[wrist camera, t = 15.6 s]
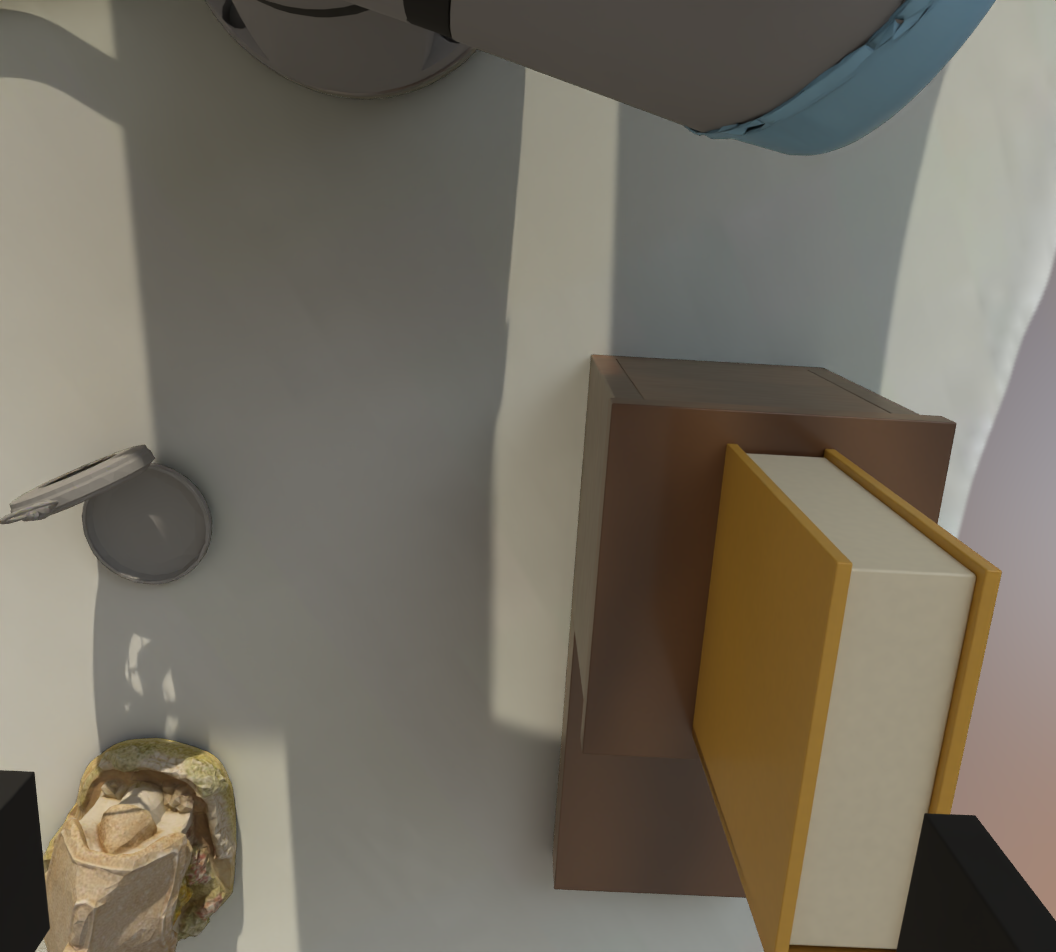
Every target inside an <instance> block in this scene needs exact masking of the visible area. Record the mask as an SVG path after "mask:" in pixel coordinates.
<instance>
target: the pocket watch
mask: <svg viewBox="0 0 1056 952" xmlns="http://www.w3.org/2000/svg"><path fill="white" fill-rule="evenodd" d="M154 459H155V457H154V455H153V454H152V452H151V450H149V449H148V448H147V447H146V445H140V446H135V447H131V448H128V449H125V450H122V451H119V452H116V453H114V454H111V455H109V456H106V457H104V458H101V459H99V460H96V461H94V462H91V463H89V464H86V465H84V466H81V467H79V468H77V469H75V470H72V471H70V472H68V473H66V474H64V475H61V476H59V477H57V478H55V479H52V480H50V481H48V482H46V483H44V484H42V485H40V486H38V487H36V488H34V489H32V490H30V491H28V492H26V493H24V494H23V495H21V496H20V497H18V498H17V499H15V500H14V501H13V502H11V503H10V507H11V514H9V515H6V516H4V517H3V518H1V519H0V524H9V523H13V522H16V521H20V520H23V521H35V520H42V519H45V518H47V517H48V516H50V515H52V514H55V513H58V512H60V511H63V510H65V509H68V508H70V507H73V506H75V505H77V504H80V503H82V502H84V501H85V502H84V505H83V512H82V522H83V530H84V534H85V537H86V539H87V542H88V544H89V546H90V548H91V549H92V551H93V553H94V554H95V556H96V557H97V558H98V559H99V560H100V562H101V563H102V564H104V565H105V566H106V567H107V568H108V569H110V570H111V571H112V572H114V573H116V574H117V575H119V576H121V577H123V578H126V579H128V580H131V581H134V582H138V583H146V584H162V583H167V582H170V581H174V580H177V579H179V578H180V577H182V576H184V575H186V574H188V573H189V572H190V571H192V570H193V569H194V568H195V567H196V566H197V564H198V563H199V562H200V561H201V559H202V558H203V556H204V555H205V554H206V552H207V549H208V547H209V544H210V540H211V534H212V520H211V516H210V511H209V508H208V506H207V504H206V501H205V499H204V497H203V496H202V494H201V493H200V492H199V490H198V489H197V487H196V486H195V485H194V484H193V483H192V482H191V481H190V480H189V479H188V478H186V477H185V476H183V475H181V474H180V473H178V472H177V471H175V470H174V469H171V468H168V467H166V466H163V465H160V464H155V463H151V462H152V461H153V460H154ZM13 517H14V518H13Z"/></svg>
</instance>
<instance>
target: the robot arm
mask: <svg viewBox="0 0 1056 952" xmlns="http://www.w3.org/2000/svg"><path fill="white" fill-rule="evenodd" d="M995 1H996V0H205V2H206V3H207V5H208V6H209V8H210V9H211V11H212V12H213V14H214V15H215V17H216V18H217V19H218V21H219V22H220V23H221V24H222V26H223V27H224V28H225V29H226V30H227V32H228V33H229V34H230V35H231V36H232V37H233V38H234V39H235V40H236V41H237V42H238V43H239V44H240V45H241V46H242V47H243V48H244V49H245V50H247V51H248V52H249V53H250V54H251V55H252V56H254V57H255V58H256V59H258V60H259V61H260V62H262V63H263V64H265V65H266V66H268V67H269V68H271V69H272V70H274V71H275V72H277V73H279V74H281V75H282V76H284V77H286V78H288V79H289V80H291V81H293V82H295V83H297V84H300V85H302V86H304V87H306V88H309V89H312V90H315V91H318V92H321V93H324V94H328V95H333V96H337V97H344V98H352V99H377V98H387V97H392V96H397V95H402V94H405V93H409V92H412V91H415V90H418V89H420V88H423V87H425V86H427V85H429V84H432V83H434V82H435V81H437V80H439V79H441V78H442V77H444V76H446V75H447V74H449V73H450V72H452V71H453V70H454V69H456V68H457V67H459V66H460V65H461V64H462V63H463V62H464V61H466V60H467V59H468V58H469V57H470V56H471V55H472V54H473V53H474V52H475V51H476V50H477V49H478V50H481V51H484V52H487V53H489V54H492V55H495V56H497V57H500V58H503V59H505V60H508V61H511V62H514V63H516V64H519V65H522V66H524V67H527V68H530V69H533V70H535V71H538V72H541V73H543V74H546V75H549V76H551V77H554V78H557V79H560V80H562V81H565V82H568V83H570V84H573V85H576V86H578V87H581V88H584V89H587V90H589V91H592V92H595V93H597V94H600V95H603V96H606V97H608V98H611V99H614V100H616V101H619V102H622V103H624V104H627V105H630V106H633V107H635V108H638V109H641V110H643V111H646V112H649V113H651V114H654V115H657V116H660V117H662V118H665V119H668V120H670V121H673V122H676V123H679V124H681V125H683V126H684V127H685V128H687V129H688V130H689V131H691V132H692V133H694V134H697V135H699V136H701V135H705V136H707V137H709V138H711V139H729V138H732V139H735V140H739V141H742V142H746V143H749V144H753V145H756V146H760V147H763V148H766V149H770V150H773V151H777V152H780V153H784V154H788V155H803V156H809V155H818V154H823V153H827V152H830V151H833V150H836V149H839V148H842V147H845V146H847V145H849V144H851V143H853V142H855V141H857V140H859V139H860V138H862V137H864V136H866V135H867V134H869V133H870V132H872V131H873V130H875V129H876V128H878V127H879V126H881V125H882V124H883V123H885V122H886V121H888V120H889V119H890V118H891V117H892V116H894V115H895V114H896V113H897V112H898V111H900V110H901V109H902V108H903V107H904V106H905V105H906V104H908V103H909V102H910V101H911V100H912V99H913V98H914V97H915V96H916V95H917V94H918V93H919V92H920V91H921V90H922V89H923V88H924V87H925V86H926V85H927V84H928V83H929V82H930V81H931V80H932V79H933V78H934V77H935V76H936V75H937V74H938V73H939V71H940V70H941V69H942V68H943V67H944V66H945V65H946V64H947V63H948V61H949V60H950V59H951V58H952V57H953V56H954V55H955V54H956V52H957V51H958V50H959V49H960V48H961V46H962V45H963V44H964V43H965V41H966V40H967V39H968V38H969V36H970V35H971V34H972V32H973V31H974V30H975V29H976V27H977V26H978V25H979V23H980V22H981V20H982V19H983V18H984V16H985V15H986V14H987V12H988V11H989V9H990V8H991V6H992V5H993V4H994V2H995ZM49 929H50V922H49V912H48V902H47V892H46V882H45V873H44V863H43V853H42V843H41V833H40V823H39V813H38V803H37V793H36V784H35V774H34V772H24V771H3V770H0V952H35V950H36V949H37V947H38V946H39V944H40V943H41V941H42V940H43V938H44V937H45V935H46V934H47V932H48V931H49ZM896 952H1056V921H1055V919H1054V918H1053V917H1052V916H1051V914H1050V913H1049V911H1048V910H1047V909H1046V907H1045V906H1044V905H1043V904H1042V902H1041V901H1040V900H1039V898H1038V897H1037V896H1036V895H1035V893H1034V892H1033V891H1032V889H1031V888H1030V887H1029V885H1028V884H1027V883H1026V881H1025V880H1024V879H1023V877H1022V876H1021V875H1020V873H1019V872H1018V871H1017V870H1016V868H1015V867H1014V866H1013V864H1012V863H1011V862H1010V860H1009V859H1008V858H1007V856H1006V855H1005V854H1004V853H1003V851H1002V850H1001V849H1000V847H999V846H998V845H997V843H996V842H995V841H994V839H993V838H992V837H991V835H990V834H989V833H988V832H987V830H986V829H985V828H984V826H983V825H982V824H981V822H980V821H979V820H978V818H977V817H976V816H973V815H952V814H931V813H924V818H923V823H922V828H921V833H920V838H919V843H918V848H917V852H916V857H915V862H914V867H913V872H912V877H911V882H910V887H909V892H908V896H907V901H906V906H905V911H904V916H903V921H902V926H901V931H900V935H899V940H898V945H897V950H896Z"/></svg>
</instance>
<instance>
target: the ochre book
mask: <svg viewBox="0 0 1056 952" xmlns="http://www.w3.org/2000/svg"><path fill="white" fill-rule="evenodd" d="M1001 574H1002V571H1001V570H999V569H998V568H997V567H995V566H994V565H993V564H991V563H990V562H989V561H987V560H986V559H984V558H983V557H982V556H980V555H979V554H978V553H976V552H975V551H973V550H972V549H971V548H969V547H968V546H967V545H965V544H964V543H962V542H961V541H960V540H958V539H957V538H956V537H954V536H953V535H951V534H950V533H949V532H947V531H946V530H945V529H943V528H942V527H940V526H939V525H938V524H936V523H935V522H934V521H932V520H931V519H929V518H928V517H927V516H925V515H924V514H923V513H921V512H920V511H918V510H917V509H916V508H914V507H913V506H912V505H910V504H909V503H907V502H906V501H905V500H903V499H902V498H901V497H899V496H898V495H897V494H895V493H894V492H892V491H891V490H890V489H888V488H887V487H886V486H884V485H883V484H881V483H880V482H879V481H877V480H876V479H875V478H873V477H872V476H870V475H869V474H868V473H866V472H865V471H864V470H862V469H861V468H859V467H858V466H857V465H855V464H854V463H853V462H851V461H850V460H848V459H847V458H846V457H844V456H843V455H842V454H840V453H839V452H837V451H836V450H834V449H825V451H824V458H821V457H803V456H785V455H767V454H748V453H745V452H744V451H743V450H742V449H741V448H740V447H739V446H738V445H737V444H727V447H726V455H725V464H724V472H723V480H722V488H721V497H720V505H719V513H718V521H717V530H716V538H715V546H714V554H713V563H712V571H711V579H710V587H709V596H708V604H707V612H706V620H705V629H704V637H703V645H702V653H701V662H700V670H699V678H698V686H697V695H696V703H695V711H694V719H693V728H692V736H693V739H694V742H695V745H696V748H697V751H698V754H699V757H700V760H701V763H702V766H703V769H704V772H705V775H706V778H707V781H708V784H709V787H710V790H711V793H712V796H713V799H714V802H715V805H716V808H717V811H718V814H719V817H720V820H721V823H722V826H723V829H724V832H725V835H726V838H727V841H728V844H729V847H730V850H731V853H732V856H733V859H734V862H735V865H736V868H737V871H738V874H739V877H740V880H741V883H742V886H743V889H744V892H745V895H746V898H747V901H748V904H749V907H750V910H751V913H752V916H753V919H754V922H755V925H756V928H757V931H758V934H759V937H760V940H761V943H762V946H763V949H764V952H896V950H897V945H898V940H899V935H900V931H901V926H902V921H903V916H904V911H905V906H906V901H907V896H908V892H909V887H910V882H911V877H912V872H913V867H914V862H915V857H916V852H917V848H918V843H919V838H920V833H921V828H922V823H923V818H924V813H931V814H950V812H951V808H952V803H953V798H954V793H955V789H956V784H957V780H958V775H959V770H960V765H961V761H962V756H963V751H964V747H965V742H966V737H967V733H968V728H969V723H970V719H971V714H972V709H973V704H974V700H975V695H976V690H977V686H978V681H979V677H980V672H981V667H982V663H983V658H984V653H985V649H986V644H987V639H988V635H989V630H990V625H991V621H992V616H993V611H994V607H995V601H996V597H997V592H998V588H999V583H1000V578H1001Z"/></svg>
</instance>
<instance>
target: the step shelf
mask: <svg viewBox="0 0 1056 952" xmlns="http://www.w3.org/2000/svg"><path fill="white" fill-rule="evenodd" d="M955 428H956V423H955V422H953V421H951V420H949V419H947V418H945V417H942V416H930V415H919V414H917V413H915V412H913V411H911V410H909V409H907V408H905V407H903V406H901V405H899V404H897V403H895V402H893V401H891V400H889V399H886V398H884V397H882V396H880V395H878V394H876V393H874V392H872V391H870V390H868V389H866V388H864V387H862V386H860V385H858V384H856V383H853V382H851V381H849V380H847V379H845V378H843V377H841V376H839V375H837V374H835V373H833V372H831V371H829V370H827V369H825V368H817V367H799V366H782V365H765V364H747V363H730V362H713V361H695V360H678V359H660V358H643V357H626V356H608V355H591V361H590V374H589V387H588V400H587V413H586V426H585V439H584V452H583V464H582V477H581V490H580V503H579V516H578V529H577V542H576V555H575V568H574V581H573V594H572V609H571V620H570V633H569V646H568V659H567V671H566V684H565V697H564V710H563V723H562V736H561V749H560V762H559V775H558V788H557V801H556V814H555V826H554V839H553V852H552V857H553V877H554V889H562V890H585V891H608V892H631V893H653V894H676V895H699V896H721V897H744V898H746V895H745V892H744V889H743V886H742V883H741V880H740V877H739V874H738V871H737V868H736V865H735V862H734V859H733V856H732V853H731V850H730V847H729V844H728V841H727V838H726V835H725V832H724V829H723V826H722V823H721V820H720V817H719V814H718V811H717V808H716V805H715V802H714V799H713V796H712V793H711V790H710V787H709V784H708V781H707V778H706V775H705V772H704V769H703V766H702V763H701V760H700V757H699V754H698V751H697V748H696V745H695V742H694V739H693V736H692V728H693V719H694V711H695V703H696V695H697V686H698V678H699V670H700V662H701V653H702V645H703V637H704V629H705V620H706V612H707V604H708V596H709V587H710V579H711V571H712V563H713V554H714V546H715V538H716V530H717V521H718V513H719V505H720V497H721V488H722V480H723V472H724V464H725V455H726V447H727V444H737V445H738V446H739V447H740V448H741V449H742V450H743V451H744V452H745V453H748V454H767V455H785V456H803V457H821V458H824V451H825V449H834V450H836V451H837V452H839V453H840V454H842V455H843V456H844V457H846V458H847V459H848V460H850V461H851V462H853V463H854V464H855V465H857V466H858V467H859V468H861V469H862V470H864V471H865V472H866V473H868V474H869V475H870V476H872V477H873V478H875V479H876V480H877V481H879V482H880V483H881V484H883V485H884V486H886V487H887V488H888V489H890V490H891V491H892V492H894V493H895V494H897V495H898V496H899V497H901V498H902V499H903V500H905V501H906V502H907V503H909V504H910V505H912V506H913V507H914V508H916V509H917V510H918V511H920V512H921V513H923V514H924V515H925V516H927V517H928V518H929V519H931V520H932V521H934V522H935V523H936V524H937V523H938V518H939V513H940V507H941V502H942V497H943V492H944V486H945V481H946V476H947V471H948V465H949V460H950V455H951V449H952V444H953V439H954V434H955Z"/></svg>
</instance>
